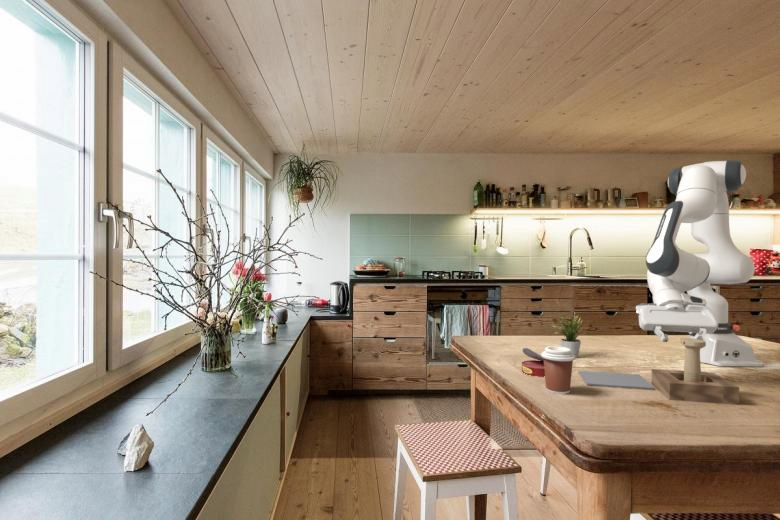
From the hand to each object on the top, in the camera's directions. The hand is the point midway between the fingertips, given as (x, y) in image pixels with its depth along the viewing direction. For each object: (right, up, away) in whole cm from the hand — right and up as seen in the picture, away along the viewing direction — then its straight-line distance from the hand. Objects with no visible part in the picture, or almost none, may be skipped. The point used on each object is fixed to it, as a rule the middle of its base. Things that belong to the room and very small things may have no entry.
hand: (683, 341), depth 127 cm
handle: (-1, -14, -5) cm, 15 cm away
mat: (-17, -13, +7) cm, 22 cm away
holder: (-1, -13, -5) cm, 14 cm away
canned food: (-37, -13, +16) cm, 43 cm away
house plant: (-17, -13, +39) cm, 44 cm away
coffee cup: (-37, -14, -2) cm, 40 cm away
